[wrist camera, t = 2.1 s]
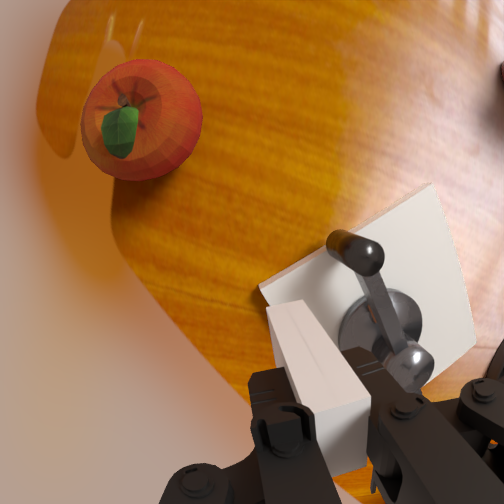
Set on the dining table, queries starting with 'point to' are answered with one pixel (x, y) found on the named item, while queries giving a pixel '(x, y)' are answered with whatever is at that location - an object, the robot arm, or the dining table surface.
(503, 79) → the mug
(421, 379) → the lever handle
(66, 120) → the dining table surface
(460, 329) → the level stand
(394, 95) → the dining table surface
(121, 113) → the fruit
